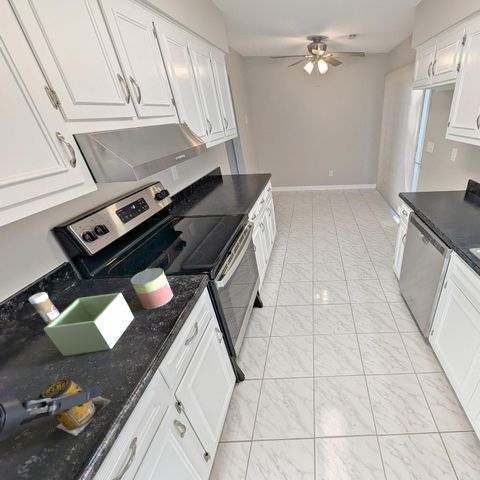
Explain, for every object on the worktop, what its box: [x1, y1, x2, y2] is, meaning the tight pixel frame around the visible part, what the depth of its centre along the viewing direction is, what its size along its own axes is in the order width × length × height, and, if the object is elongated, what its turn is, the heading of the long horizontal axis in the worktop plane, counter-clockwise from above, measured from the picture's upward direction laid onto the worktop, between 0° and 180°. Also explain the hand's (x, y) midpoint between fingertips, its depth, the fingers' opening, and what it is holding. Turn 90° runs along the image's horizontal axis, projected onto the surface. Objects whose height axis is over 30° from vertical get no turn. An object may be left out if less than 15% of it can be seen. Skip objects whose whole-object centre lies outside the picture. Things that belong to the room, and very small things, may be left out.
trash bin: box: [43, 292, 135, 357], centre depth 87 cm, size 15×15×12 cm
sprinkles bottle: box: [28, 291, 61, 325], centre depth 93 cm, size 5×5×14 cm
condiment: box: [41, 377, 112, 436], centre depth 62 cm, size 7×8×12 cm
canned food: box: [130, 267, 174, 310], centre depth 103 cm, size 11×11×12 cm
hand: (86, 392), depth 66 cm, fingers closed on condiment, 6 cm apart
